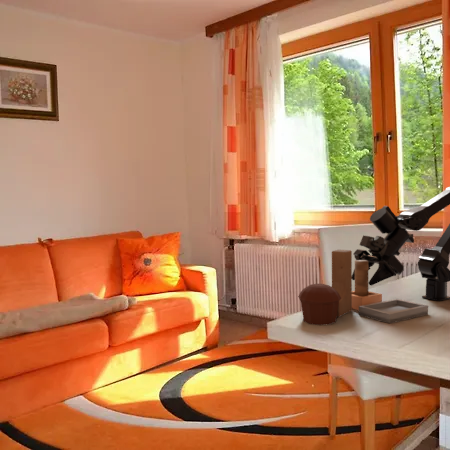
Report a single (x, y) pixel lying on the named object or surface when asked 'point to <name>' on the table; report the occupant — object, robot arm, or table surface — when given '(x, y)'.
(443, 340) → the table surface
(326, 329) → the table surface
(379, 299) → the orange square ring
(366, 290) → the dowel pin
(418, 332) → the table surface
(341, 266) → the wooden block
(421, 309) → the tray
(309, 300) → the muffin
